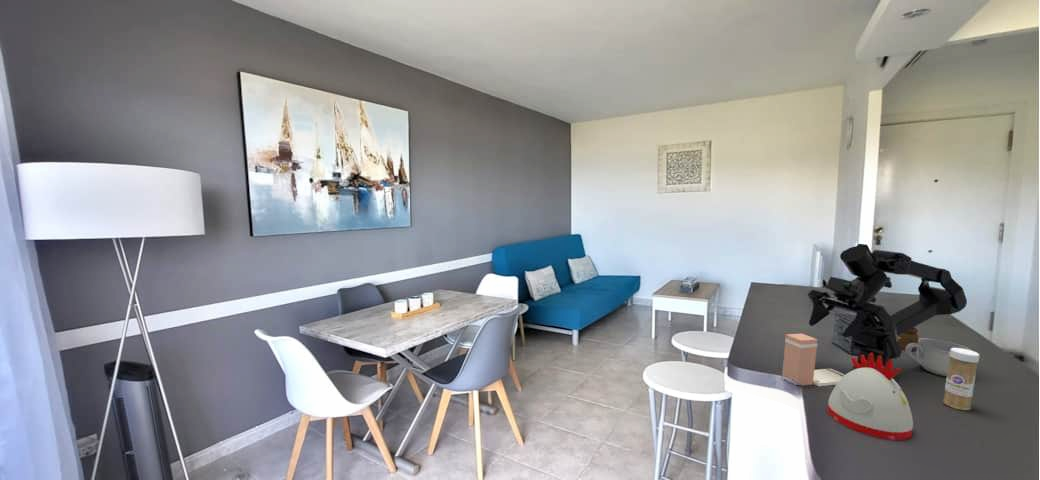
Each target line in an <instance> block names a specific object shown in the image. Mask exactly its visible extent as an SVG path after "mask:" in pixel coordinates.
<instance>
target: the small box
mask: <svg viewBox="0 0 1040 480" xmlns="http://www.w3.org/2000/svg"><path fill="white" fill-rule="evenodd" d="M855 318H856V314H850V313H841V312H840V313H839V312H836V313H835V316H834V325H833V334H832V341H831V343H832V344H833V345H834V346H836V347H838V348H839V349H840V350H842V351H844V352H845V353H847V354H848V355H853V356H858V355H859V354H860V348H857V347H854V344H853V338H852V336H850V337H847V338H844V337H843V336H842V334H843V333H844V331H845V330H846V328H847V327H848V326H849V325H850V324H851V323H852V321H853V320H854V319H855Z"/></svg>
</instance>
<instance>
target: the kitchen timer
mask: <svg viewBox="0 0 1040 480" xmlns="http://www.w3.org/2000/svg"><path fill="white" fill-rule="evenodd" d="M857 360H858V359H856V357H855V356H854V357H852V358H851V361H852V364H853V366H854V367H855V369H852V370H851V371H849V372H847V373H846V374H845V376H843V377H842V378H841V380H840V381H839V382H838V383H837V384H836V385H834V388H833V390H832V392H831V393H830V394H829V395H830V396H829V398H828V402H827V408H826V409H827V413H828V415H829V416H830V417H831V418H832V419H833V420H835V421H836V422H837V423H840V424H841V425H843V426H844V427H846V428H849V429H852V430H853V429H854V431H856V432H858V433H861V434H865V435H868V436H871V437H874V438H879V439H884V440H894V441H901V440H907V439H910V438H911V437H912V436H913V429H914V421H913V415H912V410H911V407H910V404H909V400H908V399H907V396H906V395H905V392H903V391H904V390H902V388H901V386H900V385H899V384H898V383H897V382H896V380H895V379H893V377H894V376H895V377H896V375H898V373H900V371H901V367H898V368H896V369H894V370H893V358H892V359H891V360H889V361H888V362H887V364H886V365H885V367H884V366H883V362H882V356H881V355H879V356H878V357H877V360H876V363H875V362H874V355H873V353H869V356H868V359H867V360H866V359H865V357H864V355H860V360H861V365H860V364H859V363H858V362H857Z"/></svg>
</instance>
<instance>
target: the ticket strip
mask: <svg viewBox="0 0 1040 480" xmlns="http://www.w3.org/2000/svg"><path fill="white" fill-rule="evenodd" d="M845 375H846V374H844V373H843V372H840V371H839V370H835V369H833V368H822V369H821V368H819V369H814V379H813V385H815V386H817V387H825V386H836V384H837V383H838V382H839V381H840V380H841V378H842V377H843V376H845Z"/></svg>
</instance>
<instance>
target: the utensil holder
mask: <svg viewBox="0 0 1040 480" xmlns="http://www.w3.org/2000/svg"><path fill="white" fill-rule="evenodd" d="M918 332H919V331H918V328H917V327H916V326H915V327H913V328H911V329H909V330H907V331H905V332H904V333H902V334H900V335H898V338H897V343H898V344H899V346H900V347H901V349H902V351H906V350H905V349H906V346H907V345H908V344H910V343H917V344H918V339H919V335H918ZM914 351H917V347H913V348H912V349H911V352H914Z"/></svg>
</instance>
